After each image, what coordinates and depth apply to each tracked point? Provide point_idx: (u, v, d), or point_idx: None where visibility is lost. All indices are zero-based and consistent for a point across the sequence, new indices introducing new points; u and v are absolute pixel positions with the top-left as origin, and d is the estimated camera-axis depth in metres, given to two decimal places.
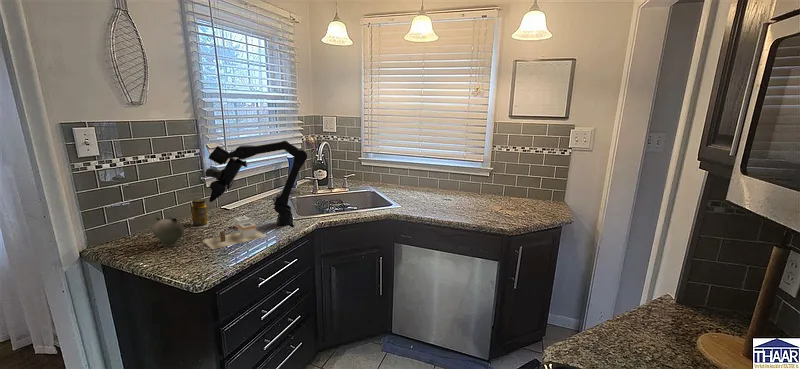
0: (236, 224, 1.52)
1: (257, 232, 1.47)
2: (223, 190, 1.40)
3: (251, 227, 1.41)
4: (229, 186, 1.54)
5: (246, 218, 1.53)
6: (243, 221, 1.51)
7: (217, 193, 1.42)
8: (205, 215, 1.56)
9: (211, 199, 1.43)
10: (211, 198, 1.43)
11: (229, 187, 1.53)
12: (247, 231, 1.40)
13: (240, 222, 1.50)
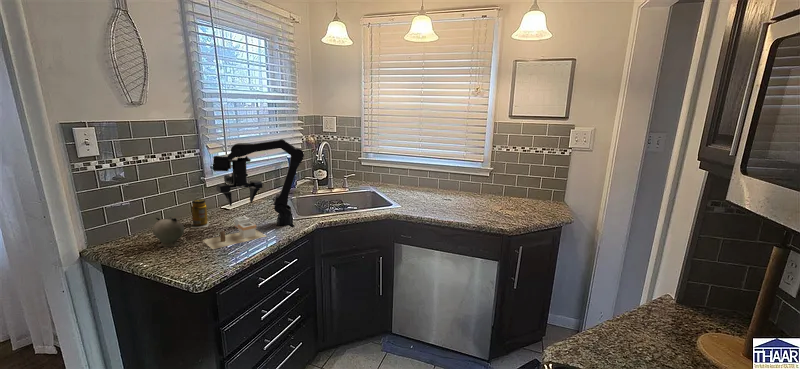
0: (236, 224, 1.52)
1: (257, 232, 1.47)
2: (220, 190, 1.42)
3: (251, 227, 1.41)
4: (256, 189, 1.53)
5: (246, 218, 1.53)
6: (243, 221, 1.51)
7: None
8: (205, 215, 1.56)
9: (229, 203, 1.48)
10: (228, 201, 1.48)
11: (254, 189, 1.52)
12: (247, 231, 1.40)
13: (240, 222, 1.50)
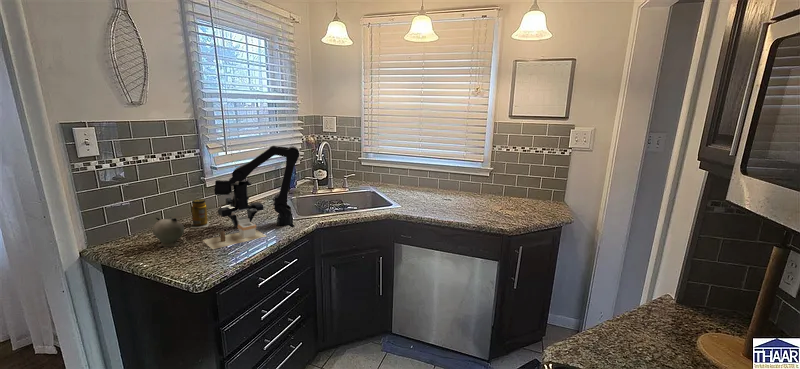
0: None
1: (257, 232, 1.47)
2: (222, 214, 1.44)
3: (251, 227, 1.41)
4: (253, 211, 1.54)
5: (246, 218, 1.53)
6: (243, 221, 1.51)
7: None
8: (205, 215, 1.56)
9: (234, 225, 1.51)
10: (234, 224, 1.51)
11: (251, 212, 1.53)
12: (247, 231, 1.40)
13: (240, 222, 1.50)
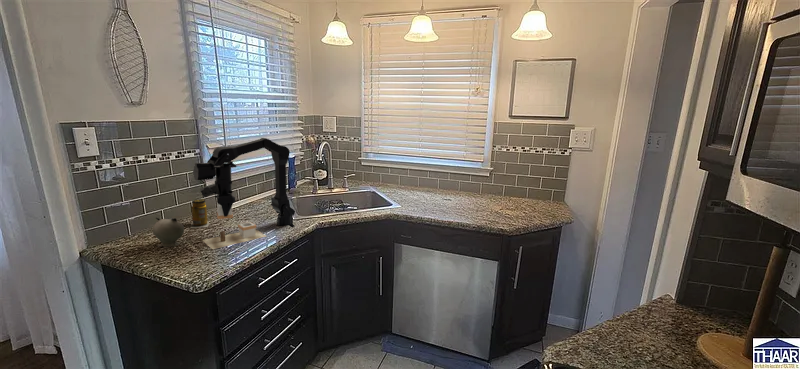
0: None
1: (257, 232, 1.47)
2: (233, 199, 1.30)
3: (251, 227, 1.41)
4: None
5: None
6: None
7: (227, 205, 1.33)
8: (205, 215, 1.56)
9: (225, 213, 1.34)
10: (225, 212, 1.34)
11: None
12: (247, 231, 1.40)
13: (231, 208, 1.37)
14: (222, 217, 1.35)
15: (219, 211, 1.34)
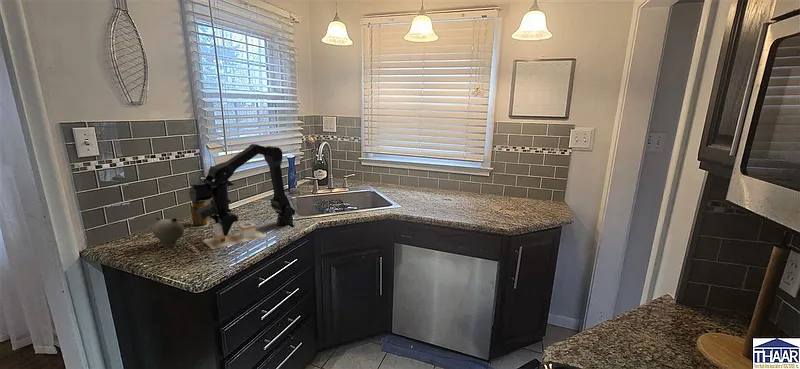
0: None
1: (257, 232, 1.47)
2: (236, 218, 1.29)
3: (251, 227, 1.41)
4: None
5: None
6: None
7: (228, 224, 1.32)
8: None
9: (225, 233, 1.33)
10: (225, 231, 1.32)
11: None
12: (247, 231, 1.40)
13: None
14: (222, 237, 1.33)
15: (219, 231, 1.32)
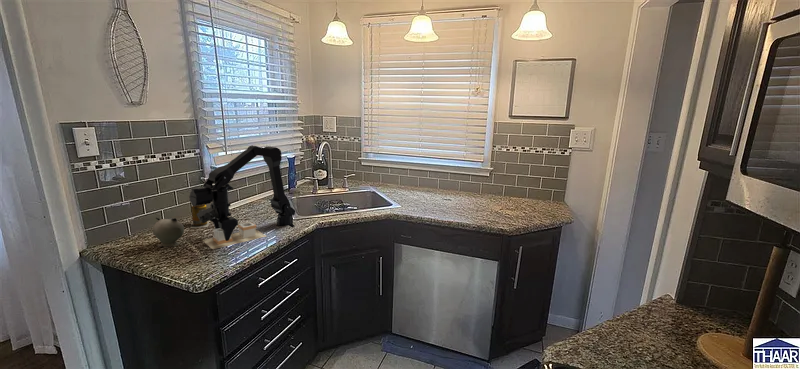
0: (224, 237, 1.34)
1: (257, 232, 1.47)
2: (237, 222, 1.30)
3: (251, 227, 1.41)
4: None
5: None
6: None
7: (229, 229, 1.31)
8: None
9: (227, 237, 1.32)
10: (226, 236, 1.32)
11: None
12: (247, 231, 1.40)
13: None
14: (222, 242, 1.33)
15: (219, 236, 1.32)
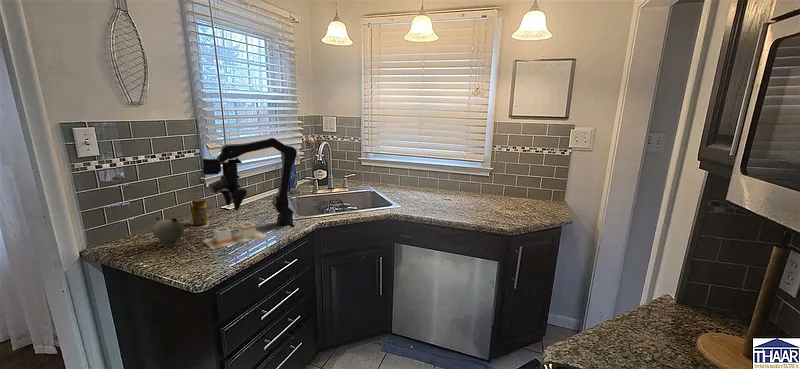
0: (224, 237, 1.34)
1: (257, 232, 1.47)
2: (246, 192, 1.40)
3: (251, 227, 1.41)
4: None
5: (223, 228, 1.37)
6: None
7: (239, 199, 1.41)
8: (205, 215, 1.56)
9: (237, 207, 1.42)
10: (236, 206, 1.42)
11: None
12: (247, 231, 1.40)
13: None
14: (222, 242, 1.33)
15: (219, 236, 1.32)
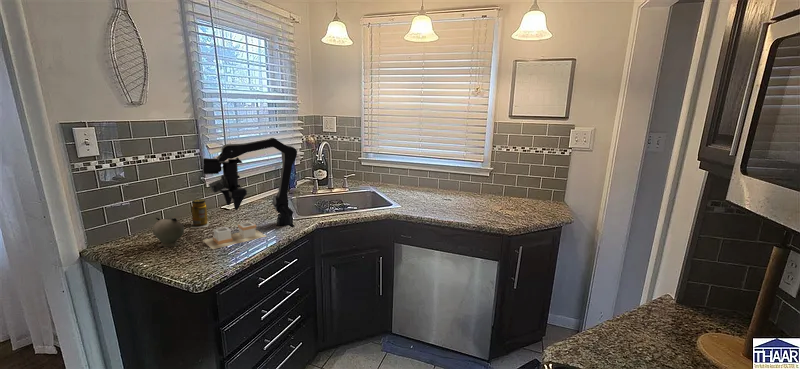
0: (224, 237, 1.34)
1: (257, 232, 1.47)
2: (246, 192, 1.40)
3: (251, 227, 1.41)
4: None
5: (223, 228, 1.37)
6: None
7: (239, 198, 1.42)
8: (205, 215, 1.56)
9: (236, 207, 1.42)
10: (236, 206, 1.42)
11: None
12: (247, 231, 1.40)
13: None
14: (222, 242, 1.33)
15: (219, 236, 1.32)
